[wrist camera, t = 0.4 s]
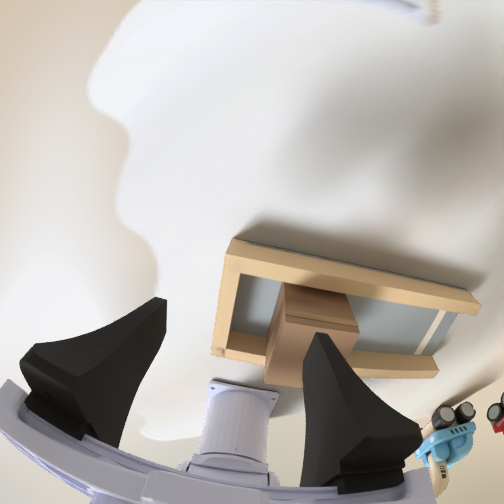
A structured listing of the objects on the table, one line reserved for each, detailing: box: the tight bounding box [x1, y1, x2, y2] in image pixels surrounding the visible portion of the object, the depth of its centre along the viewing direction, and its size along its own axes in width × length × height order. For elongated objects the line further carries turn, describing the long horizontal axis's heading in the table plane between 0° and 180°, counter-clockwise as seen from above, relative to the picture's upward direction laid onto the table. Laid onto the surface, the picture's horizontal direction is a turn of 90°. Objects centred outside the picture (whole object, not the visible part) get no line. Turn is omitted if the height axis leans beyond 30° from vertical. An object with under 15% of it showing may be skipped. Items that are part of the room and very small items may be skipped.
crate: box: [264, 282, 360, 388], centre depth 20 cm, size 6×5×6 cm
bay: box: [211, 238, 481, 379], centre depth 22 cm, size 10×24×3 cm, turn 79°
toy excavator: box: [415, 402, 476, 499], centre depth 23 cm, size 9×17×17 cm, turn 83°
